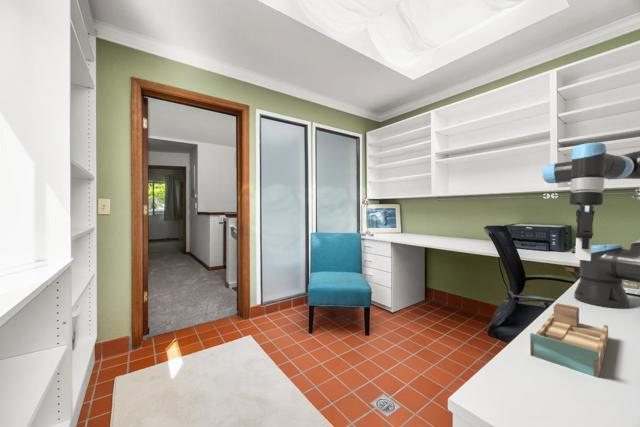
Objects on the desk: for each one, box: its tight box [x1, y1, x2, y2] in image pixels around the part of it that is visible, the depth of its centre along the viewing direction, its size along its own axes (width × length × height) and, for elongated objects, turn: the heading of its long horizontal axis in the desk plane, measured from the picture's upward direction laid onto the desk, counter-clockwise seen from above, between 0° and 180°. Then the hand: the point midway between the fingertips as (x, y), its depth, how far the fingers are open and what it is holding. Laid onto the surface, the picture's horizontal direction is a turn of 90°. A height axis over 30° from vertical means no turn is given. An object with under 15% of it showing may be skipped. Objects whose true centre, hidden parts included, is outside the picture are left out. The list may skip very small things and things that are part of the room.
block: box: [553, 302, 580, 327], centre depth 80 cm, size 5×5×4 cm
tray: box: [529, 313, 609, 378], centre depth 71 cm, size 27×12×6 cm, turn 129°
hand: (582, 258), depth 84 cm, fingers open, 13 cm apart
